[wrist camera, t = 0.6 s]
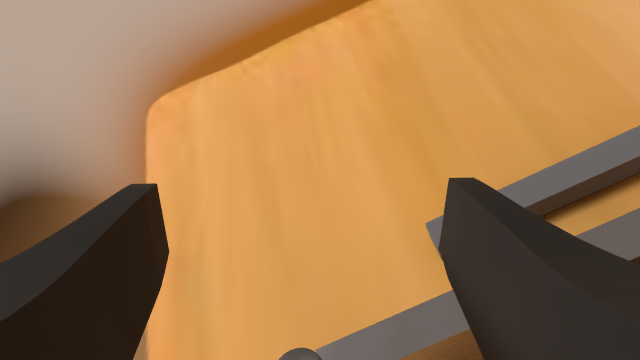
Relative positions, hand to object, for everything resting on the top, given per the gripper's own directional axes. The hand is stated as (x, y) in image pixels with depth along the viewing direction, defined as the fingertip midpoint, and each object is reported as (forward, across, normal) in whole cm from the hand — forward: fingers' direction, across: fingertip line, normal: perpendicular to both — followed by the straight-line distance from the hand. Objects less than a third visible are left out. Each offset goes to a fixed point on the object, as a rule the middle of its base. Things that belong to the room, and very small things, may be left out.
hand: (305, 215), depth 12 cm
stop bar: (+13, -17, +6) cm, 22 cm away
